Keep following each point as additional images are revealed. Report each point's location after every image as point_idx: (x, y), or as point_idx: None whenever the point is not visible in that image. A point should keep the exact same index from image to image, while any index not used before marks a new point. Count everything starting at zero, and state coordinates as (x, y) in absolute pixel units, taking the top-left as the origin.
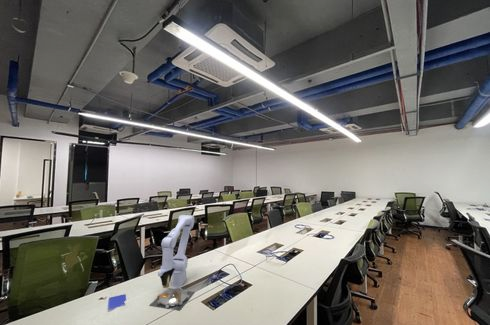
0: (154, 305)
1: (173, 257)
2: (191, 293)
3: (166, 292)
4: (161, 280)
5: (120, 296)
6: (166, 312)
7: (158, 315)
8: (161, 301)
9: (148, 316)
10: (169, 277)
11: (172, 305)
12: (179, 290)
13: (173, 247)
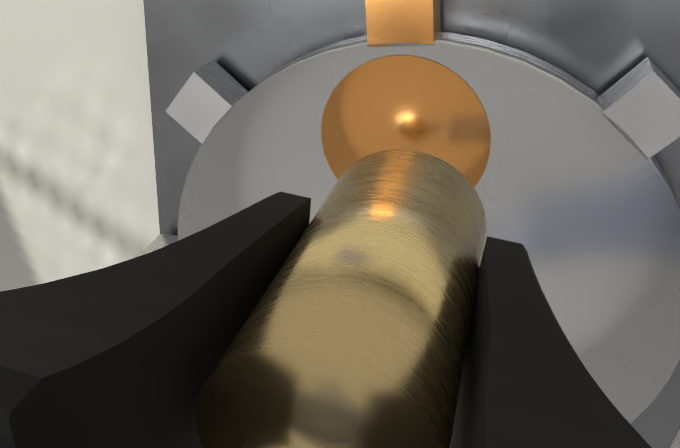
0: (174, 32)
1: None
2: None
3: (518, 134)
4: (168, 252)
5: None
6: (147, 241)
7: (69, 165)
8: (202, 156)
9: (5, 40)
10: (458, 433)
11: None
12: (603, 357)
13: None
